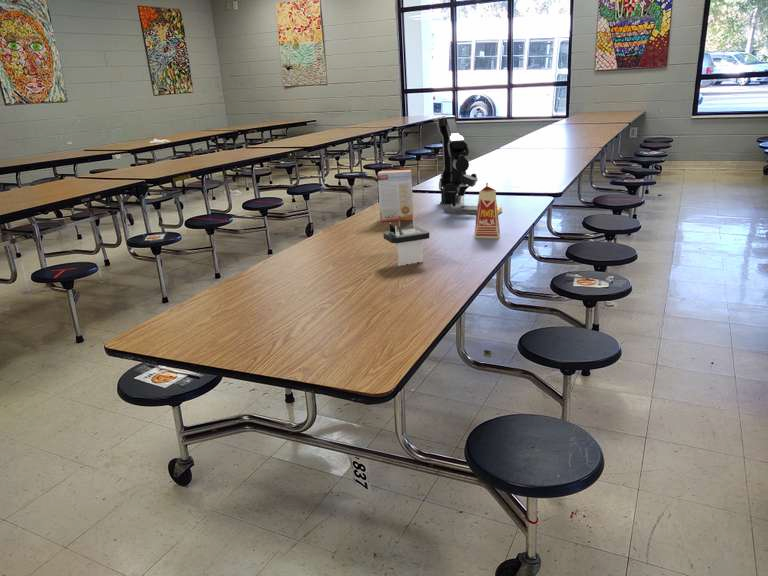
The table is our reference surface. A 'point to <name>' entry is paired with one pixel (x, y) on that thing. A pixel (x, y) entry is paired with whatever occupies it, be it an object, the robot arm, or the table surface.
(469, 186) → the robot arm
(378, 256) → the table surface
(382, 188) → the cracker box
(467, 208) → the rail
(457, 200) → the grey rectangular block
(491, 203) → the milk carton
